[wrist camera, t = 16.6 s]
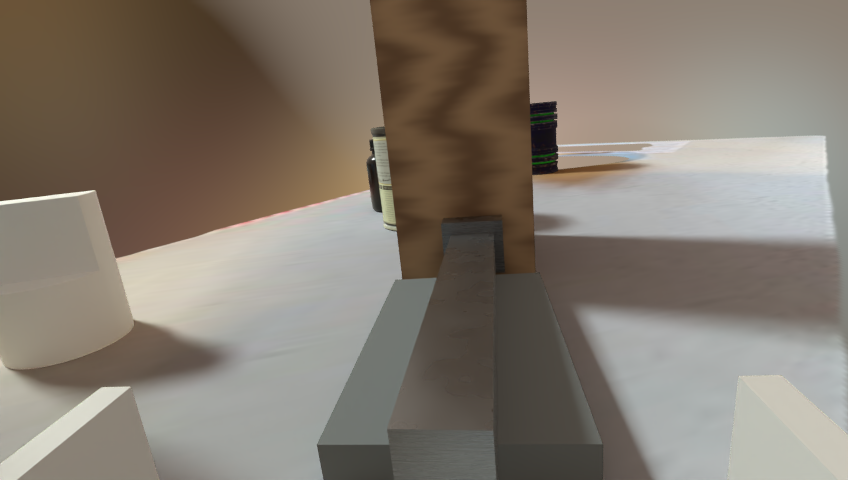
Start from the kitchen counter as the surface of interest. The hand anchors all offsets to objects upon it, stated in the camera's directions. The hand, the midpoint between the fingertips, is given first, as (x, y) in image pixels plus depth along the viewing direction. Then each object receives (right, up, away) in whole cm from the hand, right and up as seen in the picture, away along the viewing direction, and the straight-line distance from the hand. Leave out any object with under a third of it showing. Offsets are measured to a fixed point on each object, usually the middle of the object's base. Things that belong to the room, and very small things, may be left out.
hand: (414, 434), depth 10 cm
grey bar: (+3, -2, +17) cm, 18 cm away
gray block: (+3, -3, +19) cm, 20 cm away
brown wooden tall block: (+5, +2, +39) cm, 40 cm away
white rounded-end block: (-29, -4, +29) cm, 41 cm away
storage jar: (+26, +20, +95) cm, 100 cm away
